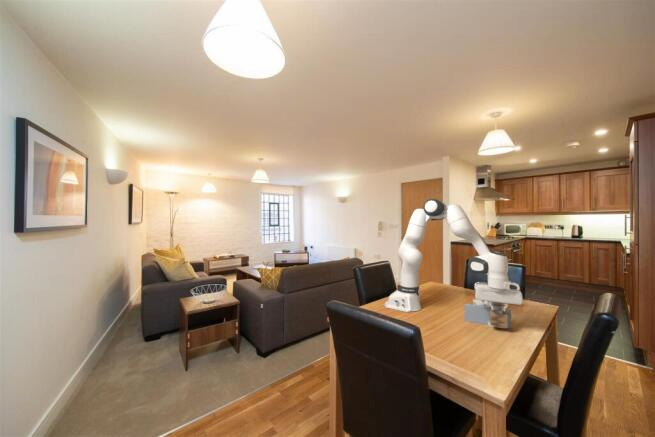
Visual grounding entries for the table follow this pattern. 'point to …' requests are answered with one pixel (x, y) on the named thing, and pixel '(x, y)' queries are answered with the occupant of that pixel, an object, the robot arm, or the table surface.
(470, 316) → the wall board
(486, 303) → the wall hook
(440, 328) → the table surface
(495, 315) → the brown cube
